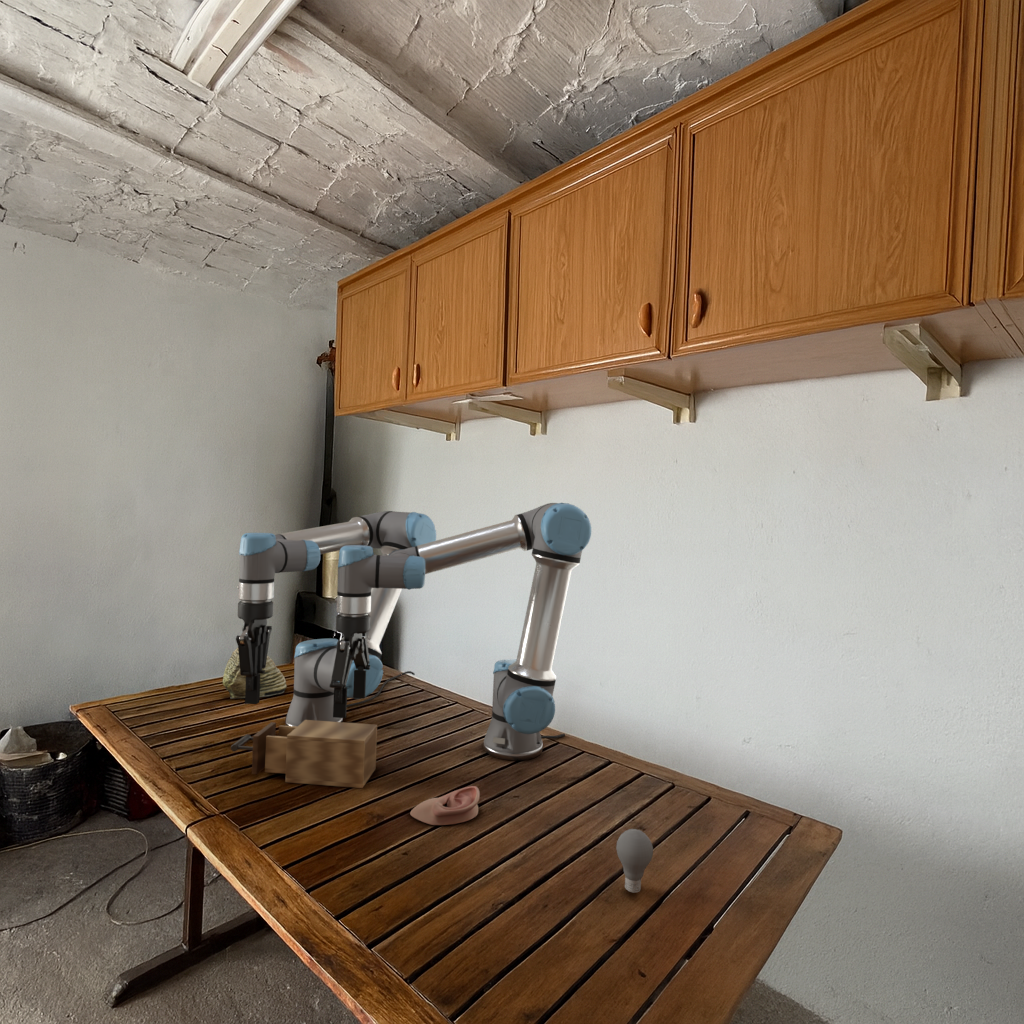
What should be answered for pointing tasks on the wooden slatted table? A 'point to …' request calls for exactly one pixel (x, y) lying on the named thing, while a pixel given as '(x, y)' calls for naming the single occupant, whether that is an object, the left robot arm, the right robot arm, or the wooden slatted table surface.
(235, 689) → the fossil
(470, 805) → the anatomical model
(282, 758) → the drawer
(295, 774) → the cabinet
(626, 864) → the light bulb
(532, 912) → the wooden slatted table surface
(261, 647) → the left robot arm
